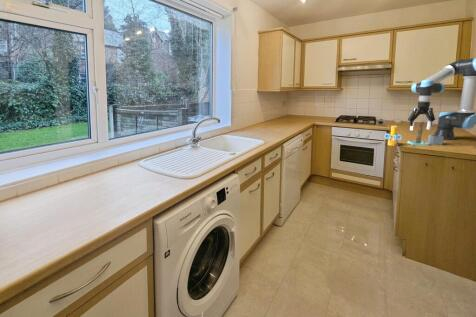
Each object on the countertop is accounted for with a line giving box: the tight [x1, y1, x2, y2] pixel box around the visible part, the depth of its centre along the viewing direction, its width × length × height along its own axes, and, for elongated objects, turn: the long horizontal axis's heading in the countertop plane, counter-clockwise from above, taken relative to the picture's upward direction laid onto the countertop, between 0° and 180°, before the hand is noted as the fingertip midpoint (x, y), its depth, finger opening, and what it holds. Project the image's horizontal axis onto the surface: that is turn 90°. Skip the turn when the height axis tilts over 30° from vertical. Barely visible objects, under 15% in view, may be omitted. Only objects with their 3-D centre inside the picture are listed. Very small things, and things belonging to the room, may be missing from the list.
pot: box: [427, 134, 444, 146], centre depth 212 cm, size 7×7×8 cm
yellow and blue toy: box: [384, 125, 403, 147], centre depth 213 cm, size 12×10×15 cm
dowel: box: [415, 121, 425, 143], centre depth 211 cm, size 3×3×17 cm
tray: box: [406, 140, 430, 147], centre depth 213 cm, size 11×10×2 cm
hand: (419, 130), depth 210 cm, fingers open, 13 cm apart
